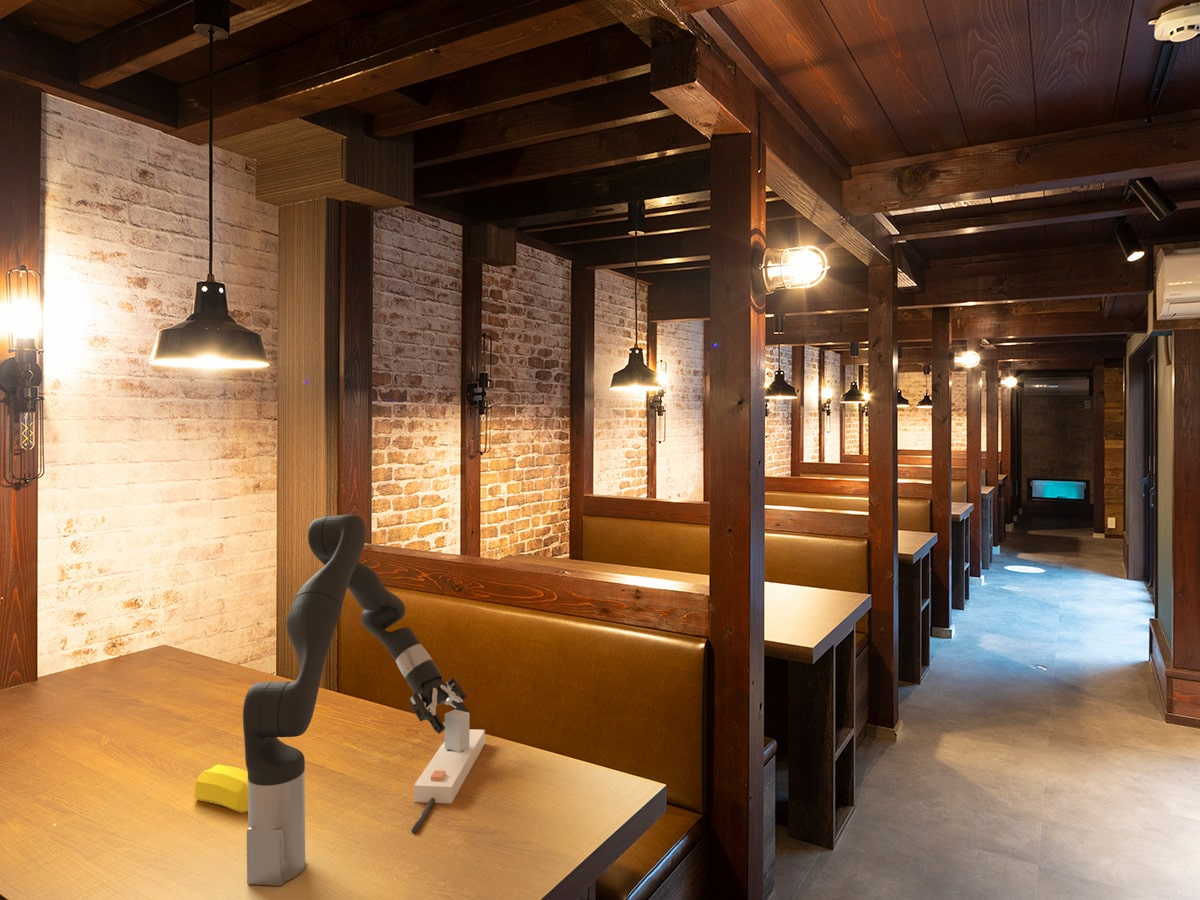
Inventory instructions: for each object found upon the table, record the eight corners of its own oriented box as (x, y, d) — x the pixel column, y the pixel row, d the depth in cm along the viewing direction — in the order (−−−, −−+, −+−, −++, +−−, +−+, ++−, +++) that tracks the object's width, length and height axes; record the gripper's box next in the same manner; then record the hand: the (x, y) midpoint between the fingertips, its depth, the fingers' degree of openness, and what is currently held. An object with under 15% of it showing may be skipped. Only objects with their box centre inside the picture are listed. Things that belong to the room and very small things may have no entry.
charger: (469, 753, 178) (469, 712, 177) (459, 759, 175) (459, 717, 174) (454, 749, 180) (454, 709, 180) (444, 754, 177) (444, 713, 177)
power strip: (434, 834, 146) (434, 812, 146) (393, 832, 147) (393, 810, 147) (484, 743, 188) (484, 726, 188) (452, 742, 189) (452, 725, 188)
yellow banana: (216, 785, 166) (184, 801, 159) (216, 755, 166) (184, 770, 159) (277, 803, 158) (246, 820, 151) (277, 771, 158) (246, 787, 151)
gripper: (404, 667, 175) (442, 726, 170) (446, 651, 188) (483, 706, 182) (388, 686, 178) (425, 744, 173) (430, 669, 190) (466, 723, 185)
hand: (454, 725), depth 177 cm, fingers open, 8 cm apart
